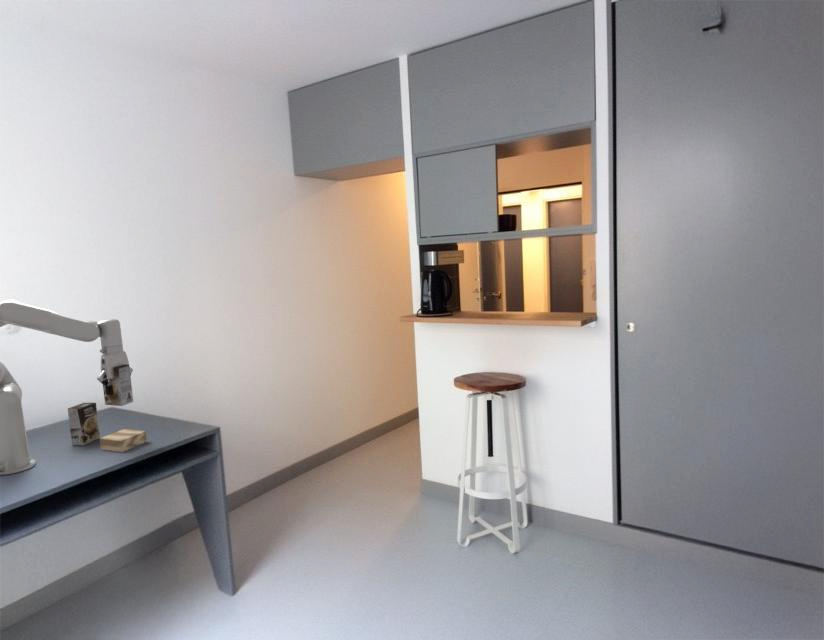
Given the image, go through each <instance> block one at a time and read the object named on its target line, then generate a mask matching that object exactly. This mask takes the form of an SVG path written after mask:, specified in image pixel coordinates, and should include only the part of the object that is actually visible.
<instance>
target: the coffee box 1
mask: <svg viewBox="0 0 824 640" xmlns="http://www.w3.org/2000/svg"><path fill="white" fill-rule="evenodd" d="M67 413H68V414H67V415H68V421H69V422H68V423H69V431H70V437H71V438H70V439H71V445H72V446H86V445H88V444H90V443H93V442H95V441H96V440H100V438H101V433H100V426H99V425H100V424H99V419H98V418H99V417H98V409H97V402H82V403H79V404H77V405H74V406H70V407H67Z"/></svg>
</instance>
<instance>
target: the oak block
mask: <svg viewBox="0 0 824 640" xmlns="http://www.w3.org/2000/svg"><path fill="white" fill-rule="evenodd" d="M147 441H148V440H147V431H146V430H139V429H130V428H129V429H128V428H124V429H120V430H118V431H116V432H112V433H109V434H108V435H105V436H101V437H100V438H99V444H100V450H103V451H110V450H111V452H116V453H118V452H119V453H123V451H124V452H126V451H128V449H129V450H131V449H133V448H135V447H134V446H136V447H137V445H138V446H140V445H142V443H143V444H145V443H147ZM144 442H145V443H144ZM139 444H140V445H139ZM132 447H133V448H132ZM130 448H131V449H130ZM125 450H126V451H125Z"/></svg>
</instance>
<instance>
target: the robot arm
mask: <svg viewBox="0 0 824 640" xmlns="http://www.w3.org/2000/svg"><path fill="white" fill-rule="evenodd" d="M6 325H13V326H16V327H21V328H25V329H30V330H35V331H39V332H42V333H46V334H50V335H55V336H59V337H63V338H65V339H71V340H75V341H80V342H86V343H91V342H94V341H97V340H98V338H100V345H101V349H99V352H100V353H101V356H100V373H99V375H98V377H97V378H96V380H97V381H98V382H100V383H101V384H102V386H103V385H104V386H105V389H106V394H107V395H113V388H112V385H111V382H112V379H114V369H113V368H114V367H117V366H122V365H129V366H130V363H129V358H128V354H127V352H126V351H125V350H124V346H123V345H124V344H123V337H122V329H121V323H120V320H119V319H116V318H112V319H104V320H103V319H102V320H84V321H83V320H79V319H74V318H71V317H69V316H68V317H67V316H65V315H63V314H60V313H58V312H55V311H53V310H50V309H46V308H41V307H38V306H34V305H30V304H26V303H22V302H20V301H18V300H15V299H6V300H3V301H1V302H0V328H2V327H5V326H6ZM133 371H134V369H133V368H131V367H130V376H131V375H132V373H133ZM105 374H106V376H105ZM103 378H105V380H104V379H103ZM107 379H108V380H107ZM22 391H23V390H22V389H21V387H20V385H19V384H18V381H16V379H15V378H14V376H13V375H12V374H11V372H10V371H9V369H8V368H7V367H6V365H5V364H4V363H3V362H2V361H0V476H1V475H2V476H5V475H6V476H7V475H13V474H16V473H21V472H24V471H27V470H29V469H31V468H33V467H34V466H35V465H36V464H37V463H36V460H35V459H33V458H30V450H29V443H28V436H27V430H26V423H25V417H24V411H23V405H22V404H23V403H22V398H23V392H22Z"/></svg>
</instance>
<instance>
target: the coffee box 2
mask: <svg viewBox="0 0 824 640" xmlns="http://www.w3.org/2000/svg"><path fill="white" fill-rule="evenodd" d="M130 368H131V366H130V364H129V365H122V366H117V367H114V368H113V369H114V379H112V382H111V385H112V388H113V395H107V394H106V389H105V386H104V385H103V384H102V388H103V398H104V405H106V406H115V407H116V406H117V407H124V406H126V405H128V404H132V403H134V395H133V386H132V377H131V376H130ZM105 376H106V374H105ZM103 379H104V380H105V378H103ZM107 380H108V379H107Z"/></svg>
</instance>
